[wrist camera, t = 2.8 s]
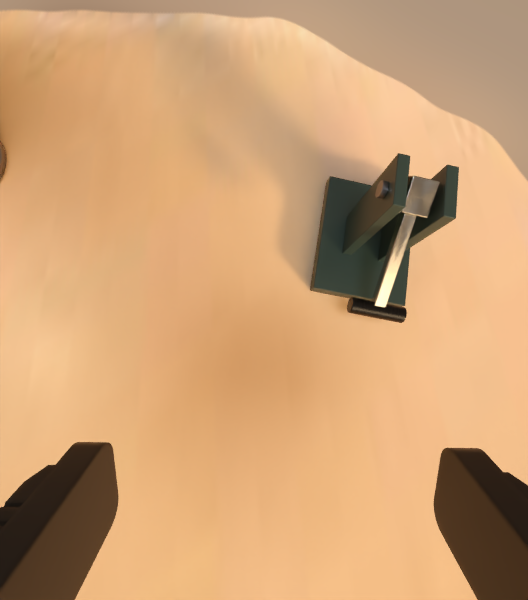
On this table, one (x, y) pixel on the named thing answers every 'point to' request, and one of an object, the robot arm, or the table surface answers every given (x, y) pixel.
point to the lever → (397, 252)
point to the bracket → (373, 230)
